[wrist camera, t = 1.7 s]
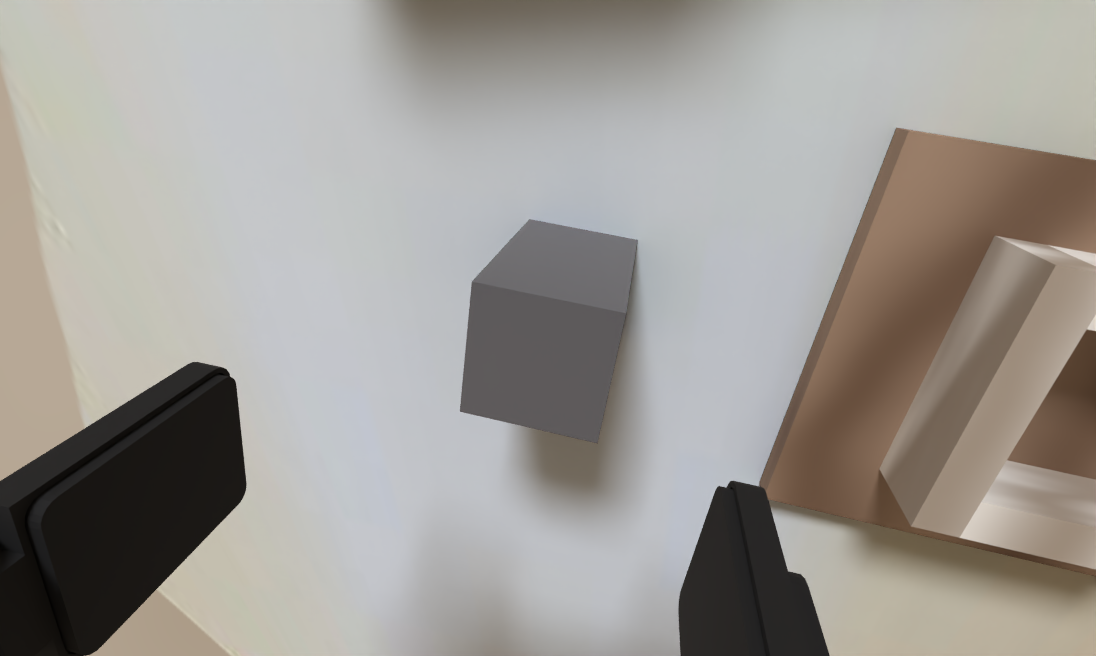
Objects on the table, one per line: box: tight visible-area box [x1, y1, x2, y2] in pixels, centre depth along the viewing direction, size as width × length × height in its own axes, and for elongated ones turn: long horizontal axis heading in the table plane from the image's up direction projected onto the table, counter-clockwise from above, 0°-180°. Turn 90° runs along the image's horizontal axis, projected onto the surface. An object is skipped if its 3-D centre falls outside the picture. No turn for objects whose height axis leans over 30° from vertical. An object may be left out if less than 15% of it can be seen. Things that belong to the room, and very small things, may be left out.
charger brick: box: [460, 219, 637, 443], centre depth 18 cm, size 4×4×7 cm
